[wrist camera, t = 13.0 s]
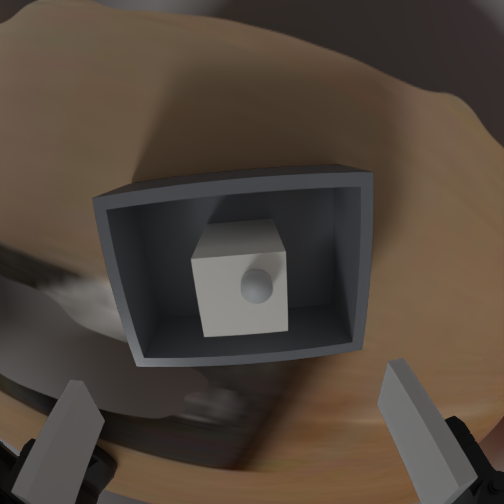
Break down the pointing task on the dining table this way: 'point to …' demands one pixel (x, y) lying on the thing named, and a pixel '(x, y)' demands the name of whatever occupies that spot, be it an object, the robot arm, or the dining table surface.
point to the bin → (230, 210)
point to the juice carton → (241, 278)
